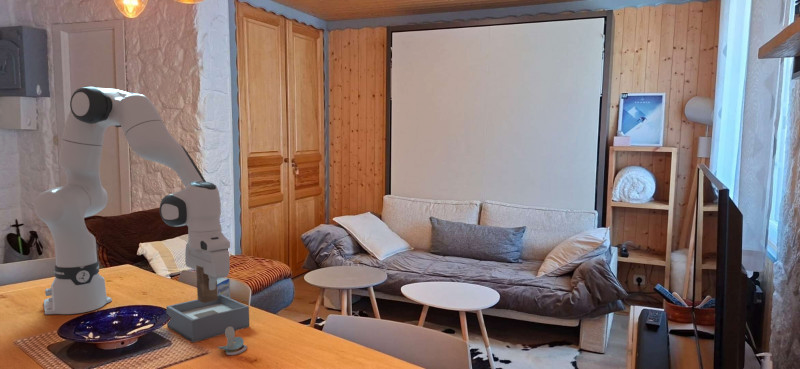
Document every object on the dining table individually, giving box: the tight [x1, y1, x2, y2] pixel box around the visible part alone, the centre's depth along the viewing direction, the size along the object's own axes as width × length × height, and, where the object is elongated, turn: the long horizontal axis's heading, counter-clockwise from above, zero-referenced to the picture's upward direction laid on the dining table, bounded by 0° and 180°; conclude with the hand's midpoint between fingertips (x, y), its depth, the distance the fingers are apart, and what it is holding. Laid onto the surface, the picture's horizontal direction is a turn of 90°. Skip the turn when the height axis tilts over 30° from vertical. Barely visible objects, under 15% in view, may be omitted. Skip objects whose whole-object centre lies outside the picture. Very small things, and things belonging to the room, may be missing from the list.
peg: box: [195, 265, 218, 303], centre depth 156 cm, size 4×4×10 cm
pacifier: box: [217, 327, 248, 356], centre depth 140 cm, size 7×6×6 cm
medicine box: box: [217, 277, 231, 298], centre depth 174 cm, size 8×4×9 cm, turn 168°
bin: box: [166, 294, 250, 343], centre depth 157 cm, size 17×17×6 cm
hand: (207, 287), depth 156 cm, fingers closed on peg, 4 cm apart
